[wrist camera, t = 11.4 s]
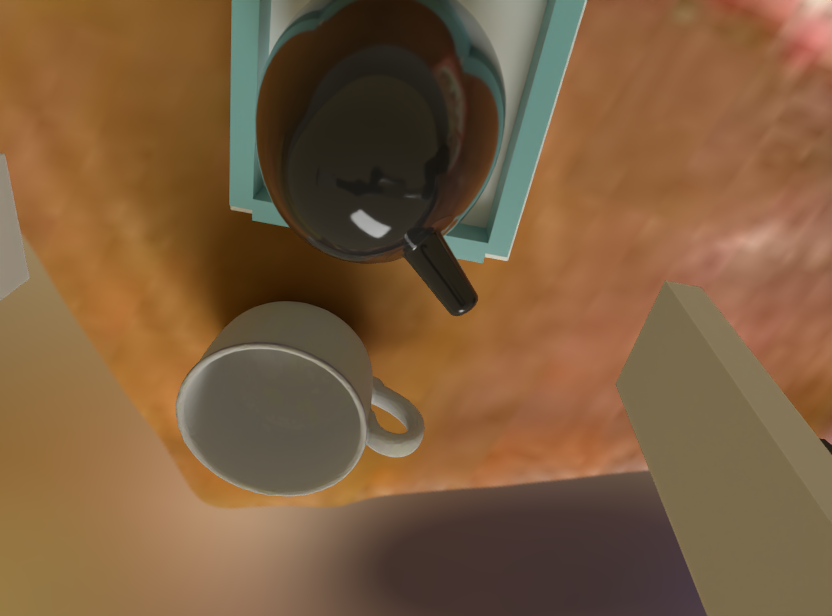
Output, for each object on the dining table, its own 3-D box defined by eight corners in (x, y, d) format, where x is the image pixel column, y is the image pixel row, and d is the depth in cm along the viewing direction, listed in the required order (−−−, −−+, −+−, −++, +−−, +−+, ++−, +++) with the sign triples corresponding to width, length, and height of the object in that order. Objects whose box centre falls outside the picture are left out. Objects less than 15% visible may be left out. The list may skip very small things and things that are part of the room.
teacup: (204, 376, 40) (156, 463, 33) (244, 250, 34) (196, 321, 28) (387, 440, 42) (377, 532, 36) (450, 332, 37) (453, 415, 30)
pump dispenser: (385, 228, 32) (348, 409, 19) (248, 75, 28) (82, 173, 15) (539, 111, 28) (622, 238, 15) (407, -84, 24) (369, -134, 11)
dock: (600, -63, 25) (619, -66, 23) (505, 252, 34) (511, 277, 31) (243, -144, 24) (219, -157, 22) (237, 201, 33) (218, 223, 30)
